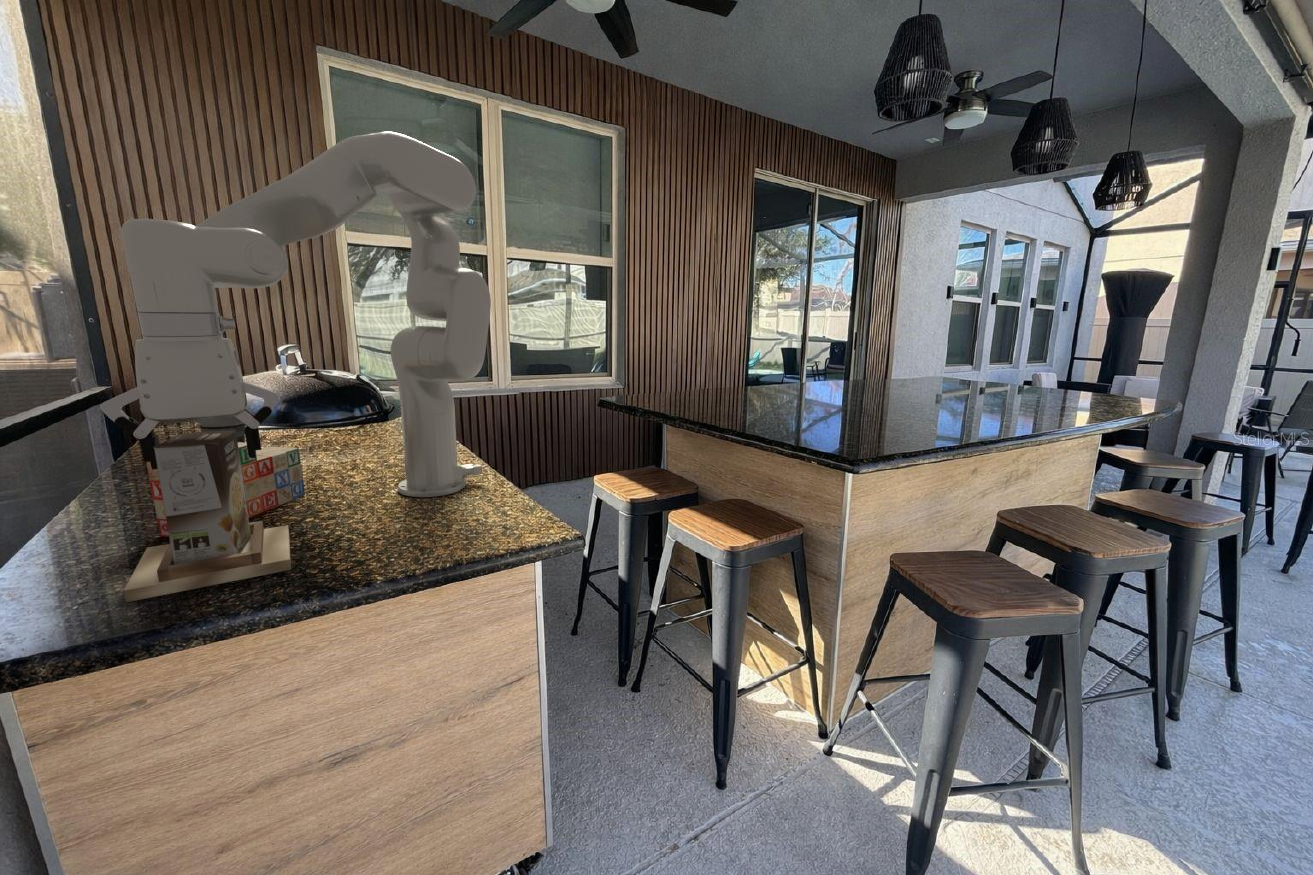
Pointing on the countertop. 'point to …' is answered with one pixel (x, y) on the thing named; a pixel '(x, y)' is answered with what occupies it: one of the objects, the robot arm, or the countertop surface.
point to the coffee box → (203, 495)
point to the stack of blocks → (252, 481)
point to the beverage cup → (224, 426)
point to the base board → (210, 565)
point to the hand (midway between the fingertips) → (207, 461)
